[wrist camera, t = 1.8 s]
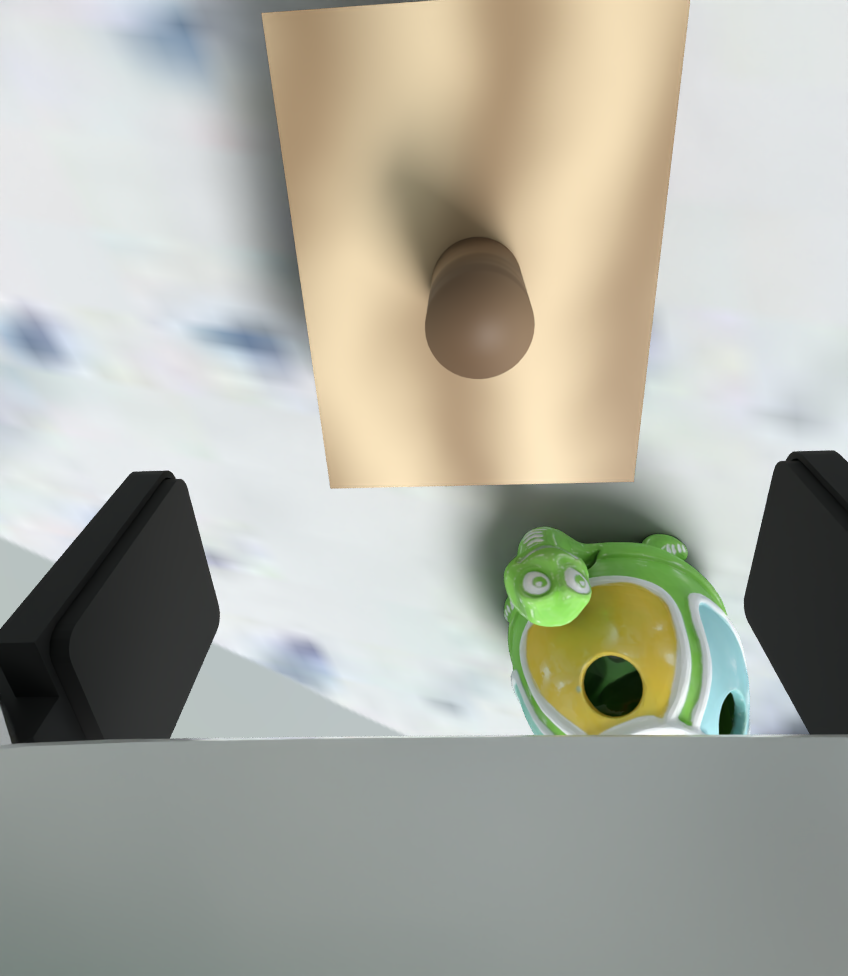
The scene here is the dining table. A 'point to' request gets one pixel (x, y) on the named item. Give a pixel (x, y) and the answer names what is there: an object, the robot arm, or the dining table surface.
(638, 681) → the turtle holder
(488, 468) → the lid
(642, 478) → the dining table surface
